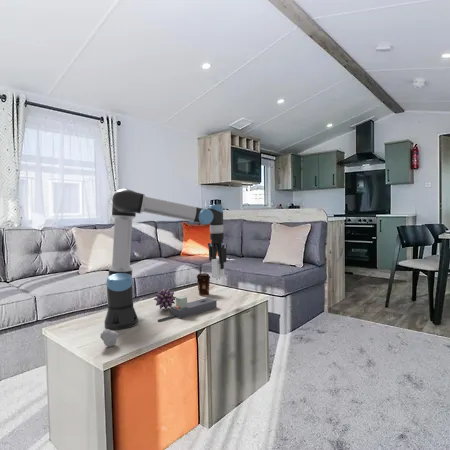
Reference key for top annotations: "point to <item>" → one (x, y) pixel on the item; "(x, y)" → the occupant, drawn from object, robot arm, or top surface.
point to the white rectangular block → (216, 269)
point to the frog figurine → (109, 337)
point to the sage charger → (181, 302)
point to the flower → (165, 298)
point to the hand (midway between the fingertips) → (218, 274)
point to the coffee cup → (203, 284)
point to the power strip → (192, 308)
